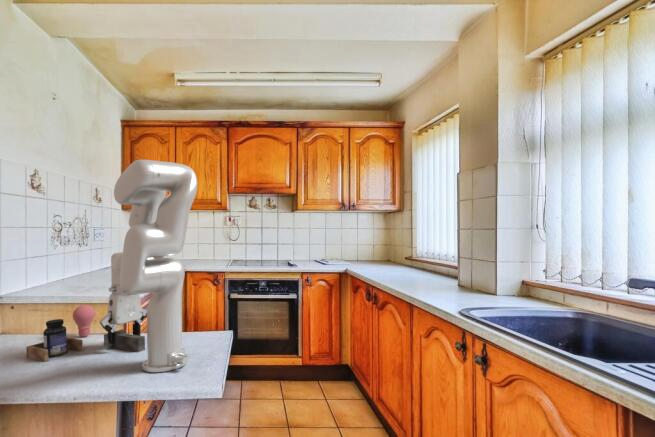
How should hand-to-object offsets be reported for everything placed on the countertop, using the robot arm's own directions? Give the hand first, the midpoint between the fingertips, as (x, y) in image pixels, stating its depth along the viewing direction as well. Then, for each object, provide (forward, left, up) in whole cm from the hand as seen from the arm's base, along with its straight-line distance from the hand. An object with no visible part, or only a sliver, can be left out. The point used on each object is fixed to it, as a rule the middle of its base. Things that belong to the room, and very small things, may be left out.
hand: (124, 339), depth 130 cm
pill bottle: (+16, +13, -3) cm, 21 cm away
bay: (+16, +13, -3) cm, 21 cm away
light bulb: (+27, -3, -3) cm, 27 cm away
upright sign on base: (0, 0, -3) cm, 3 cm away
